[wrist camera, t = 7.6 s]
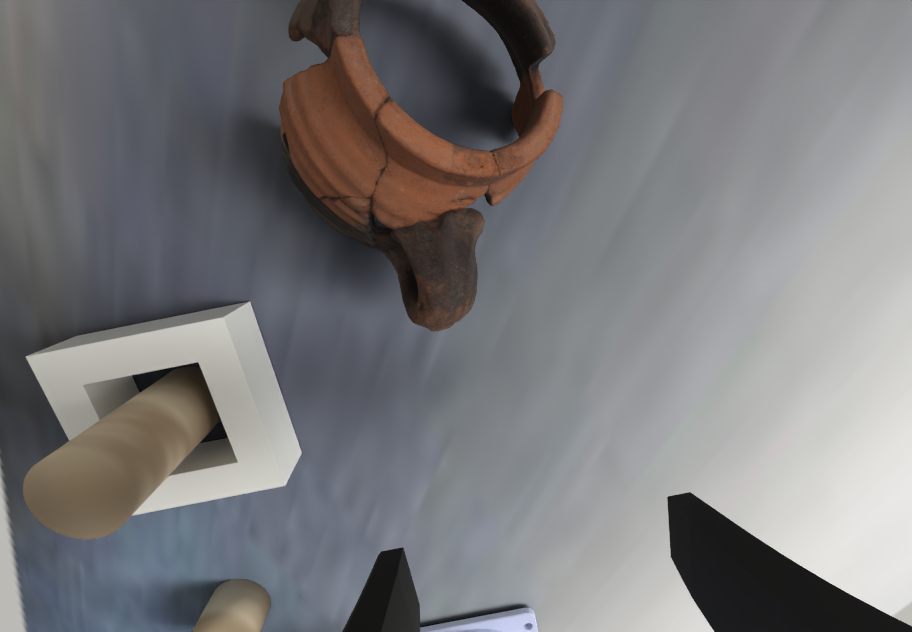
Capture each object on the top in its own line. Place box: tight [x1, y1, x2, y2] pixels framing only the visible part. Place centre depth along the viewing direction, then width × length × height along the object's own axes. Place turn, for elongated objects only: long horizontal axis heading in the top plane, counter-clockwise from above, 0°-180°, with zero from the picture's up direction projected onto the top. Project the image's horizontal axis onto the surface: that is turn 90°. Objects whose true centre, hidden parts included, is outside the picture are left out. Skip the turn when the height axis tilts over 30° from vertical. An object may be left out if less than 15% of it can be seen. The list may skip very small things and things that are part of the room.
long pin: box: [23, 366, 221, 539], centre depth 17 cm, size 3×3×7 cm
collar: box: [26, 301, 302, 515], centre depth 19 cm, size 8×8×2 cm
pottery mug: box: [279, 0, 563, 331], centre depth 16 cm, size 12×10×8 cm
